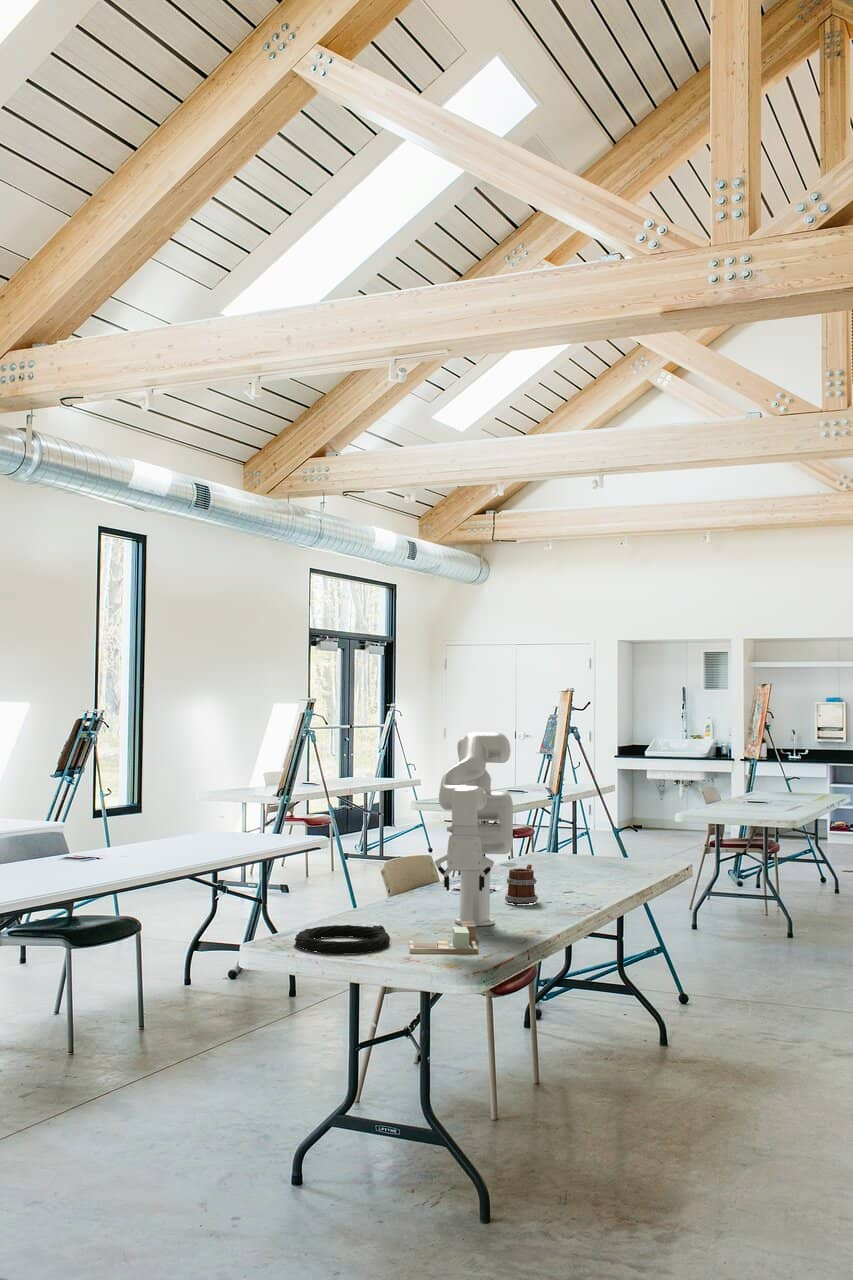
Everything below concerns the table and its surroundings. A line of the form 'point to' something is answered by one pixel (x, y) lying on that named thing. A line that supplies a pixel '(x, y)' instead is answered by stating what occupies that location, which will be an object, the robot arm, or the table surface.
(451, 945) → the oak rack
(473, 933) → the walnut bar
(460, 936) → the sage bar
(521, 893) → the mug
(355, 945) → the cable lock
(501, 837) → the robot arm
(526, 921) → the table surface
